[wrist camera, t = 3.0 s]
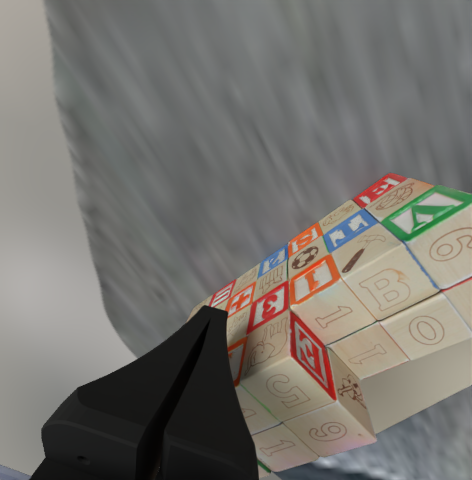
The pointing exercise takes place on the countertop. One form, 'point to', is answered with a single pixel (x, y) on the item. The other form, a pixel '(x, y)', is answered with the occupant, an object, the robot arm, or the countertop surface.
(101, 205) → the countertop surface
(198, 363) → the robot arm
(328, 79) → the countertop surface
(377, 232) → the stack of blocks
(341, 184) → the countertop surface
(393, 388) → the mat
